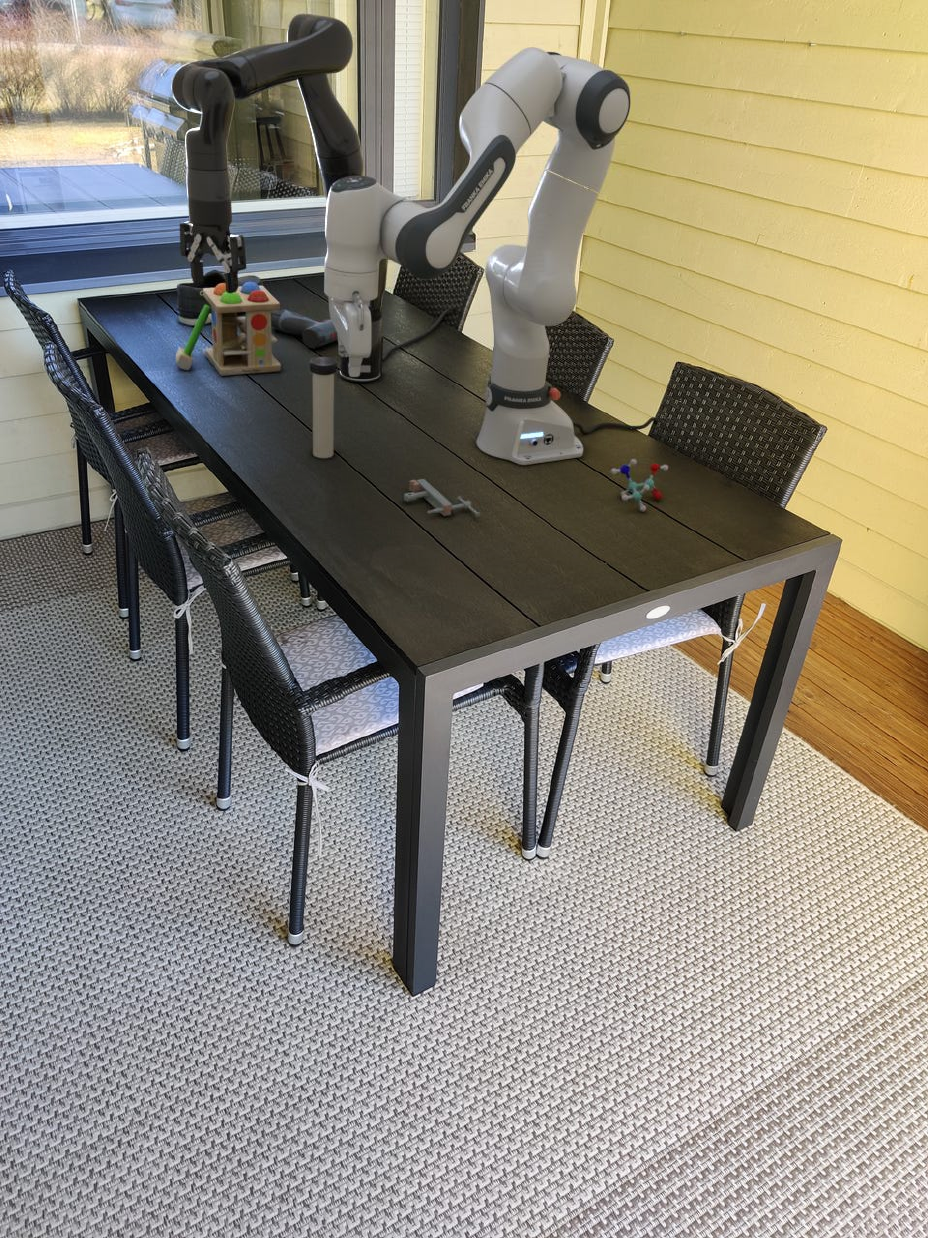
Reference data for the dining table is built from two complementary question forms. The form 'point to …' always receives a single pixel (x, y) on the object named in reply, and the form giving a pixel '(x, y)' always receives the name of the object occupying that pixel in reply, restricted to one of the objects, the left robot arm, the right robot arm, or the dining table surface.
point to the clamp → (434, 498)
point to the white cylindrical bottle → (323, 415)
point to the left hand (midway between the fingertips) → (214, 287)
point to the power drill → (304, 327)
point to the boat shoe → (193, 297)
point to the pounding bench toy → (229, 347)
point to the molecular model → (633, 485)
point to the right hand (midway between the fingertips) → (348, 365)
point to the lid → (323, 365)
